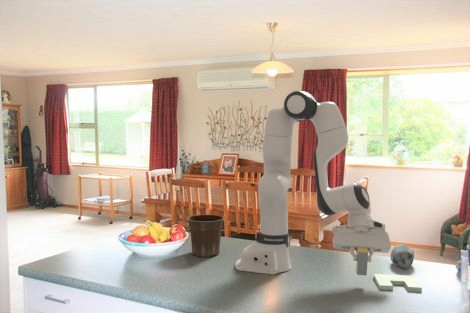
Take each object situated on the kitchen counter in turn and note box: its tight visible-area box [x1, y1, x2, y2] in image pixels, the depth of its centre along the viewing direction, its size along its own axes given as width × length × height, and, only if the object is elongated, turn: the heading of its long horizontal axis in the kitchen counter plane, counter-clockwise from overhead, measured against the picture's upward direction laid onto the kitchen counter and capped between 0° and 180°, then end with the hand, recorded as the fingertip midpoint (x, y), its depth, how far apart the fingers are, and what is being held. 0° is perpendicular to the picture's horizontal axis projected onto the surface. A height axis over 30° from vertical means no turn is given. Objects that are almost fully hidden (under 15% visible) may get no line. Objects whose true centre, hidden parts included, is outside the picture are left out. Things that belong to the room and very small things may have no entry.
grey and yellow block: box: [355, 247, 369, 276], centre depth 153 cm, size 3×3×9 cm
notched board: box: [373, 273, 423, 293], centre depth 155 cm, size 14×12×2 cm
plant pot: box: [187, 214, 225, 258], centre depth 191 cm, size 16×16×16 cm
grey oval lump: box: [390, 243, 415, 270], centre depth 176 cm, size 14×10×10 cm
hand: (362, 260), depth 153 cm, fingers closed on grey and yellow block, 3 cm apart
